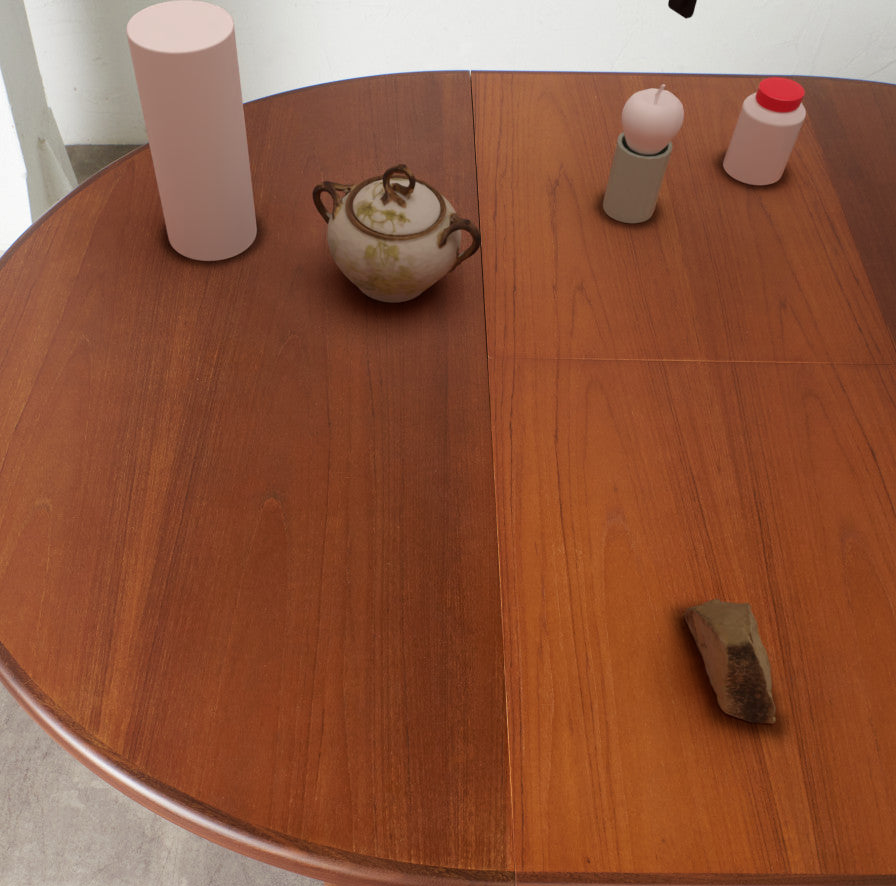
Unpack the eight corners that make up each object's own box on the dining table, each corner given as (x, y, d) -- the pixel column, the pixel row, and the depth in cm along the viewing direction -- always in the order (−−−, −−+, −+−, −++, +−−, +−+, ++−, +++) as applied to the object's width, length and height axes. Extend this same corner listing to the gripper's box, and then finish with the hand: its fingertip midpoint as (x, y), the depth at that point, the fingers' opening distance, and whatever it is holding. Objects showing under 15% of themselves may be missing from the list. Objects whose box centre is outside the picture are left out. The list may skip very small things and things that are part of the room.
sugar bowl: (493, 263, 112) (509, 149, 100) (451, 344, 103) (463, 230, 91) (341, 222, 116) (338, 108, 104) (289, 297, 107) (279, 182, 95)
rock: (658, 583, 82) (651, 674, 76) (743, 544, 77) (744, 639, 70) (734, 650, 86) (734, 743, 79) (821, 617, 80) (829, 715, 73)
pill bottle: (773, 192, 121) (805, 112, 112) (714, 174, 123) (741, 94, 114) (789, 162, 125) (821, 82, 116) (732, 145, 127) (760, 65, 118)
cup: (632, 187, 121) (649, 122, 114) (664, 214, 118) (683, 149, 111) (592, 201, 119) (606, 136, 112) (623, 229, 116) (640, 164, 109)
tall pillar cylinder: (152, 248, 112) (105, 39, 92) (194, 198, 118) (159, -9, 98) (232, 270, 110) (203, 60, 90) (271, 218, 116) (251, 10, 96)
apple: (621, 164, 109) (637, 99, 103) (609, 130, 114) (624, 65, 107) (680, 163, 110) (700, 98, 103) (666, 129, 114) (684, 65, 107)
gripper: (726, -167, 79) (674, 37, 93) (874, -201, 84) (804, -3, 98) (668, -195, 83) (627, 5, 96) (813, -226, 88) (754, -32, 102)
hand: (716, 1), depth 97 cm, fingers open, 9 cm apart
